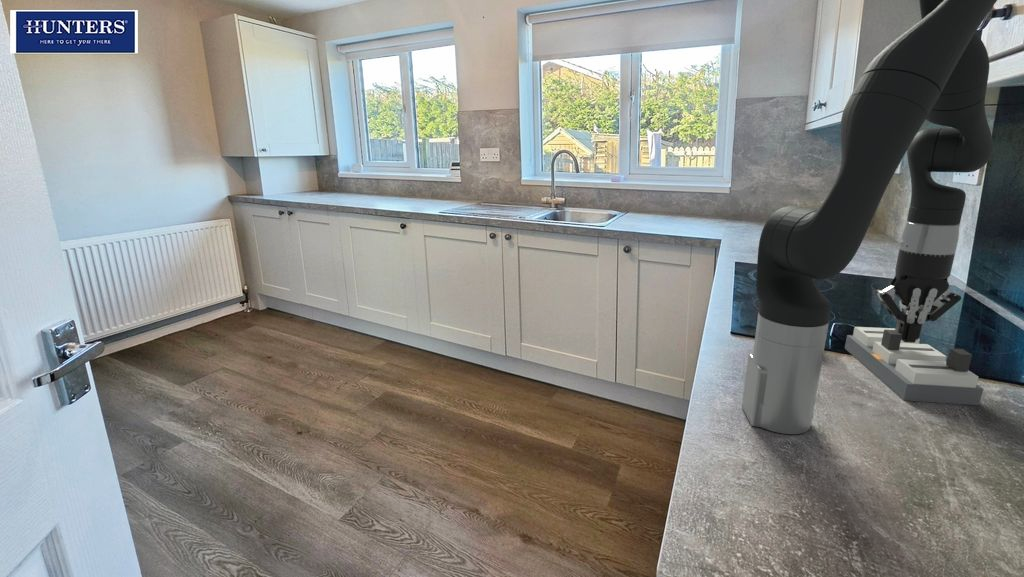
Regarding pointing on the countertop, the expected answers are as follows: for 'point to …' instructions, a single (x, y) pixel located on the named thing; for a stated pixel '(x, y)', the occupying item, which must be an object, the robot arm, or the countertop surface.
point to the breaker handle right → (959, 360)
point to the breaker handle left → (897, 325)
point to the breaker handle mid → (891, 339)
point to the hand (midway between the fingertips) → (907, 340)
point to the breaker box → (913, 369)
